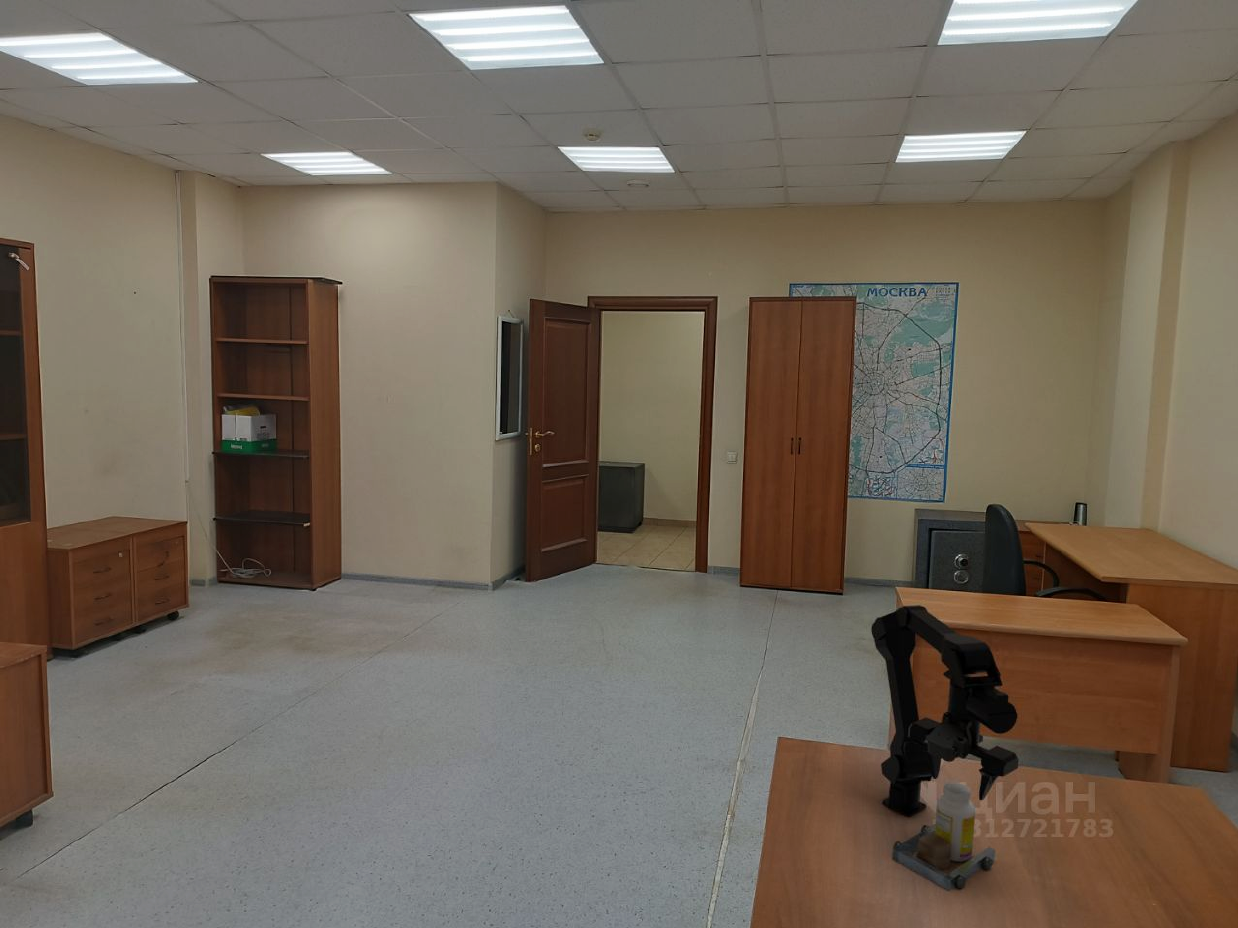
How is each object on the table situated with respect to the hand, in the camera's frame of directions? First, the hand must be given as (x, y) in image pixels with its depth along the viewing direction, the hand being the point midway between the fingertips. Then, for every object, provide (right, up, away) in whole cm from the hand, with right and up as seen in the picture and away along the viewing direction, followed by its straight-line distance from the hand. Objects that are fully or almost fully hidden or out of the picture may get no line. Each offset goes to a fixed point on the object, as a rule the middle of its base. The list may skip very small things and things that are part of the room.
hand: (957, 788), depth 154 cm
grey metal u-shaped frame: (-3, -13, 0) cm, 13 cm away
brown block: (-5, -13, -2) cm, 15 cm away
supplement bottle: (0, -13, +2) cm, 13 cm away
